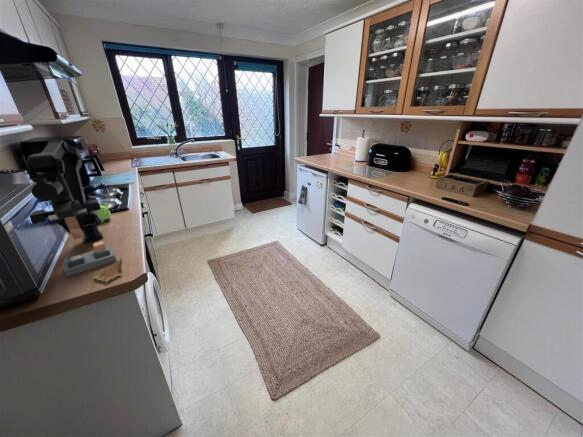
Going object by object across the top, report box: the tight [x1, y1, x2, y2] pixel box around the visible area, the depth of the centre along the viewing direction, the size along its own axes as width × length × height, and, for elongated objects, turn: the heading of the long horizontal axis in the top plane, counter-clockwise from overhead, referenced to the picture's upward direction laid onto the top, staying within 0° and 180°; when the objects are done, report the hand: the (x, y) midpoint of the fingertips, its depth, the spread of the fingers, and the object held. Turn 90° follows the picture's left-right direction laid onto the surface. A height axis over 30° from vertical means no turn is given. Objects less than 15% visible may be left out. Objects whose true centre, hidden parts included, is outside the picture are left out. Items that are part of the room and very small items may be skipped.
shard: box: [93, 258, 123, 281], centre depth 82 cm, size 11×8×2 cm
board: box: [63, 240, 117, 277], centre depth 86 cm, size 9×14×6 cm, turn 131°
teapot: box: [94, 202, 112, 224], centre depth 119 cm, size 11×12×8 cm
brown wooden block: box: [64, 216, 84, 240], centre depth 87 cm, size 3×3×8 cm
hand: (76, 231), depth 88 cm, fingers closed on brown wooden block, 3 cm apart
